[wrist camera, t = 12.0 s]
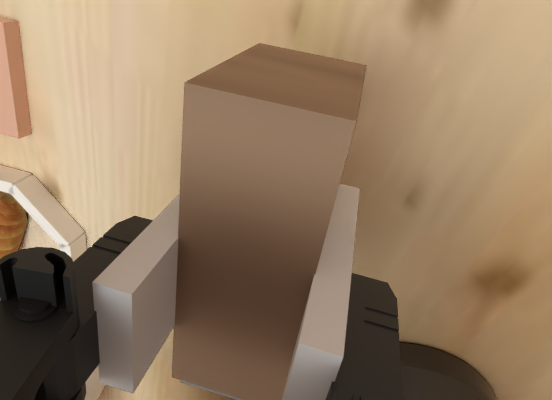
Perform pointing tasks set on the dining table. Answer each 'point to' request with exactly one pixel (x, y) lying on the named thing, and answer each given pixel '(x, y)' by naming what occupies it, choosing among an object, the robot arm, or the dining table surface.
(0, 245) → the pastry
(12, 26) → the tile
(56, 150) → the dining table surface
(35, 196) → the dish rim
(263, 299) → the tall brown block
